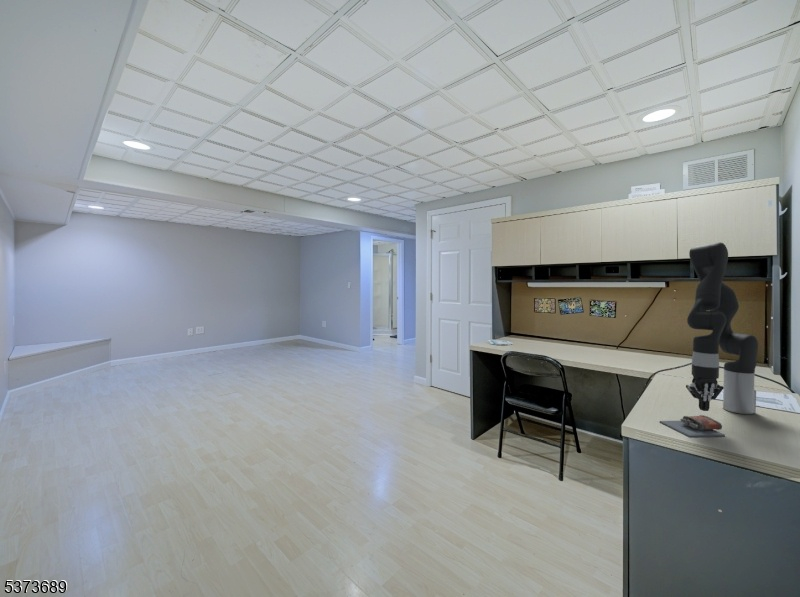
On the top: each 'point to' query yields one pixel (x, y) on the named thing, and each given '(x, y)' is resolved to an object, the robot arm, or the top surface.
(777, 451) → the top surface
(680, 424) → the mat
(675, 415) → the top surface
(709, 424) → the lighter
